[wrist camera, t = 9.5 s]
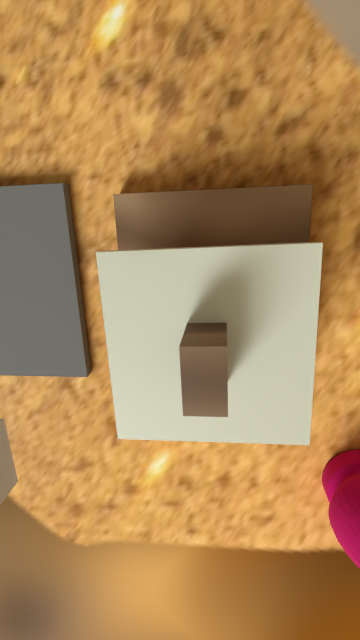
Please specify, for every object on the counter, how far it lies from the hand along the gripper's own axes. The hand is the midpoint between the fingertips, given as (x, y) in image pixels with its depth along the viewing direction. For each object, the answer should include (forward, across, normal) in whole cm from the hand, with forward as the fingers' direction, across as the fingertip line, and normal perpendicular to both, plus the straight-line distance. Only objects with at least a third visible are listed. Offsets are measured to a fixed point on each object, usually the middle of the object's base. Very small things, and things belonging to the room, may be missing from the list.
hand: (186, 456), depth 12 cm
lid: (+11, 0, 0) cm, 11 cm away
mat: (+18, -18, +2) cm, 26 cm away
